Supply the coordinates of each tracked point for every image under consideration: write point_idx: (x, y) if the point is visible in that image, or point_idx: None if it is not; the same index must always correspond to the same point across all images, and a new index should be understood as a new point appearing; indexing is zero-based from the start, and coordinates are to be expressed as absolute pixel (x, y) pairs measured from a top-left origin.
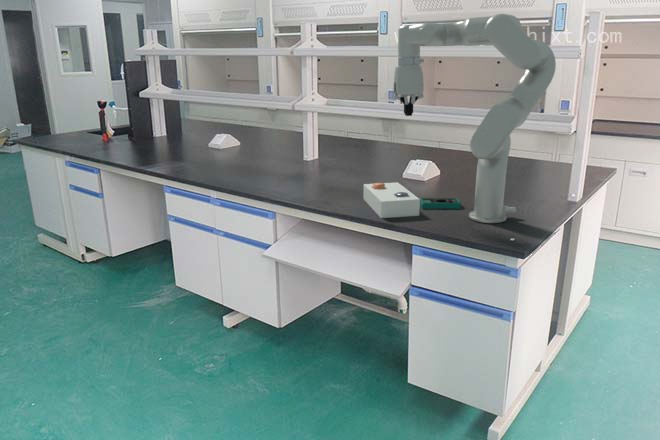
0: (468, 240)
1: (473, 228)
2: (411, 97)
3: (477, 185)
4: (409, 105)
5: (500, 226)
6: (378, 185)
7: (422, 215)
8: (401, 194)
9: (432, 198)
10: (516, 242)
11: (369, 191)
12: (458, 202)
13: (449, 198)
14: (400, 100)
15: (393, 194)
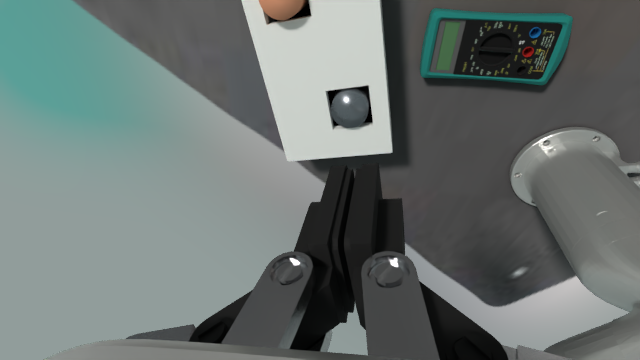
0: (437, 265)
1: (480, 220)
2: (398, 355)
3: (555, 229)
4: (351, 310)
5: None
6: (277, 19)
7: (400, 130)
8: (346, 119)
9: (477, 19)
10: (515, 283)
11: (252, 32)
12: (544, 75)
13: (541, 21)
14: (224, 314)
15: (325, 96)
